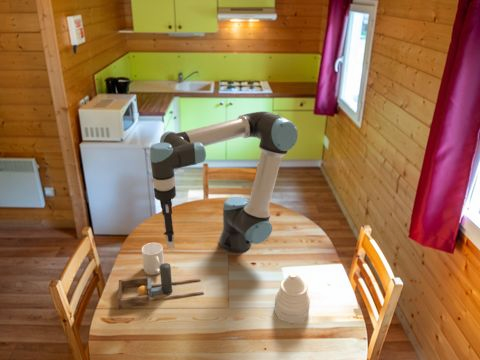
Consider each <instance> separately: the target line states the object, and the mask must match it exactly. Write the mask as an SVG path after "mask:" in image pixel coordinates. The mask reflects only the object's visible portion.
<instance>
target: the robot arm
mask: <svg viewBox="0 0 480 360" xmlns="http://www.w3.org/2000/svg"><path fill="white" fill-rule="evenodd" d="M238 138H243V139H248V138H256V139H259V141H260V142H259V145H258V148H259V149H260V151H261V153H260V157H259V161H258V165H257V168H256V173H255V177H254V179H253V180H254V181H253V184H252V188H251V193H250V197H249V199H247V198H246V197H242V196H233V197H229V198H227V199H225V201H224V202H223V206H222V218H223V220H222V221H223V222H222V223H223V224H222V226H223V227H222V231H221V233H220V237H219V246H220V248H221V249H223V250H224V251H226V252H229V253H241V252H245V251H247V250H249V249H250V248H251V246H252V244H253V245H258V244H261V243H264V242H265V241H266V240H267V239H268V238H269V237H270V236H271V234H272V231H273V225H272V223H271V222H270V217H271V212H270V211H269V208H270V204H271V199H272V198H273V197H272V196H273V192H274V190H275V189H274V188H275V185H276V181H277V178H278V174H279V173H278V172H279V170H280V166H281V162H282V158H283V157H284V156H286V155H287V154H288V151H290V150H292V149H293V147H295V145H296V143H297V140H298V128H297V127H296V124H294V122H292V121H291V120H289V119H287V118H286V117H284V116H283V117H282V116H280V115H277V114H274V113H273V112H270V111H255V112H250V113H245V114H241V115H239V116H238V117H237V118H235V119H231V120H227V121H223V122H218V123H215V124H214V123H213V124H209V125H207V126H206V125H205V126H202V127H198V128H194V129H188V130H185V131H181V132H174V131H170V130H169V131H166V132H163V134H162V135H161V136H160V139H159V142H157V143H154V144H152V145H151V146H150V148H149V161H150V167H151V175H152V176H151V177H152V178H151V179H150V182H151V183H152V184H153V185H152V186H153V193H154V198H155V199H156V200H158V201H159V203H160V208H161V214H162V219H163V226H164V229H165V232H163V235H165V241H166V249H168V250H169V249H174V248H175V235H174V233H175V232H174V227H173V218H172V214H173V208H172V207H173V202H172V200H173V199H175V197H176V196H177V190H176V180H175V179H176V178H175V170H178V169H183V168H186V167H191V166H196V165H198V164H201V163H204V162H205V161H206V157H207V153H206V149H205V147H206V146H212V145H215V144H218V143H222V142H223V143H224V142H226V141H229V140H235V139H238Z"/></svg>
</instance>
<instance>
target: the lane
mask: <svg viewBox="0 0 480 360" xmlns="http://www.w3.org/2000/svg"><path fill="white" fill-rule="evenodd" d="M195 282H201V278H194V279H187V280H179V281H172V286H173V285H174V286H175V285H179V284H180V285H182V284H187V283H195ZM157 287H162V286H161V283H158V284H157V283H156V284H151V288H157ZM199 295H204V291H196V292H189V293H183V294H175V295H169V296H163V297H162V296H161V297H156V298H149V303H151V302H158V301H165V300H171V299H178V298H179V299H180V298H185V297H186V298H187V297H192V296H199Z"/></svg>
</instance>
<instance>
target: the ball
mask: <svg viewBox="0 0 480 360" xmlns="http://www.w3.org/2000/svg"><path fill="white" fill-rule="evenodd" d="M137 294H138V296H144V295H148V286H140V287H137Z"/></svg>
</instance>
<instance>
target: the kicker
mask: <svg viewBox="0 0 480 360" xmlns="http://www.w3.org/2000/svg"><path fill="white" fill-rule="evenodd" d="M159 274H160V284H161V286H160V287H153V288H151V285H152V279H151V277H149V278H147V279H148V286H147V288H148V293H147V295H148V298H153V296H155V295H160V294H163V295H170V294H172V292H173V285H172V282H173V281H172V269H171V264H170V263H167V262H164V263H163V264H161V265H160V273H159Z"/></svg>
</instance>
